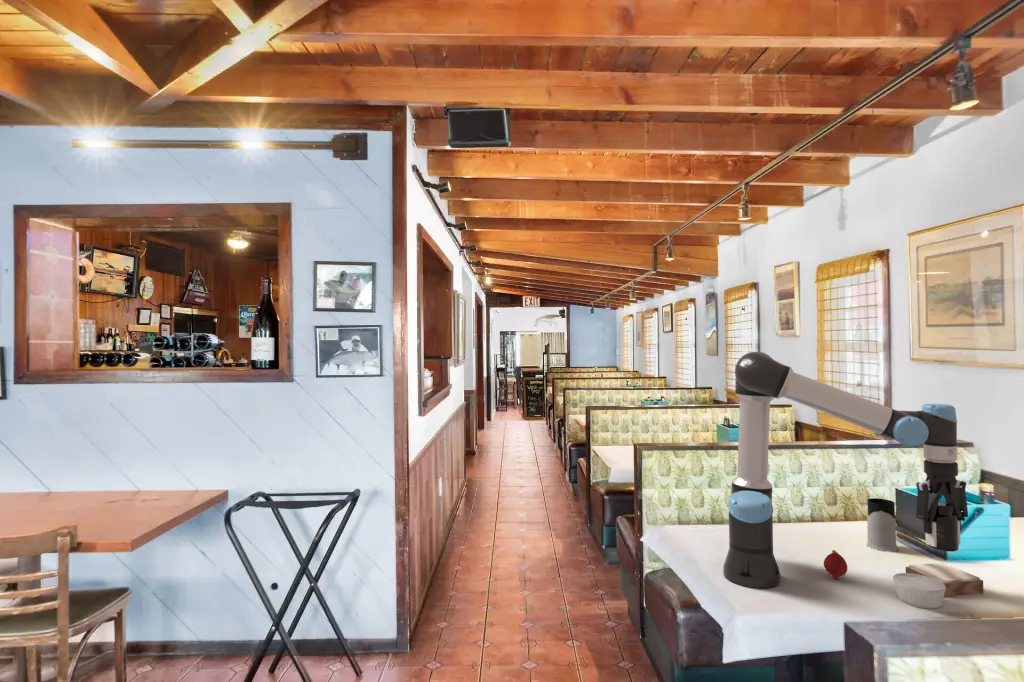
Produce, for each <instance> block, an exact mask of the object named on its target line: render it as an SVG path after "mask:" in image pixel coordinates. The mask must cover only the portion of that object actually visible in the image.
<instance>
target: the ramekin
mask: <svg viewBox="0 0 1024 682" xmlns="http://www.w3.org/2000/svg"><path fill="white" fill-rule="evenodd" d="M892 580H893V583H894V588H895V593H896V596H897V598H898V599H899V600H900V601H902V602H903V603H905V604H907V605H910V604H911V605H910V606H912V605H913V607H917V608H921V609H932V610H933V609H938V608H941V606H943V603H944V598H945V597H944V592H945V591H946V586H945V585H944V584H943V583H942V582H940V581H938V580H936V579H934V578H931V577H927V576H923V575H918V574H911V573H906V572H902V573H900V572H899V573H895V574H894V575H893V577H892Z"/></svg>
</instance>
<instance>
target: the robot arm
mask: <svg viewBox="0 0 1024 682" xmlns="http://www.w3.org/2000/svg"><path fill="white" fill-rule="evenodd" d="M734 374H735V376H734V377H735V386H734V395H735V396H736V398H738V399H739V421H738V444H737V445H738V447H737V448H738V449H737V472H736V473H737V475H736V476H735V477H734V478H733V479H732V480H731V491H730V492H731V493H730V495H729V498H728V502H727V509H728V530H729V531H728V533H729V534H728V539H729V540H728V541H729V547H728V551H727V554H726V558H725V560H724V563H723V566H722V567H723V571H722V572H723V573H722V575H723V576H724V578H726V580H727V581H729V582H732V583H734V584H736V585H739V586H744V587H749V588H757V589H766V588H767V589H768V588H774V587H777V586H779V585H780V584H781V581H782V580H781V572H780V571H781V570H780V568H779V566H778V563H777V560H776V558H775V554H774V529H773V528H774V527H773V526H774V525H773V524H774V521H773V519H774V518H773V517H774V516H773V513H774V507H773V484H772V483H771V482H770V481H769V480H768V467H769V466H768V465H769V464H768V463H769V447H770V446H769V443H770V442H769V441H770V415H771V413H770V412H771V402H772V401H773V400H775V399H782V398H786V399H788V400H790V401H792V402H795V403H798V404H800V405H804V406H806V407H808V408H811V409H813V410H816V411H819V412H821V413H824V414H826V415H830V416H831V417H833V418H834V417H835V418H836V419H839V420H843V421H845V422H848V423H850V424H852V425H855V426H857V427H861V428H863V429H866V430H868V431H871V432H873V434H874V435H875V436H877V437H884V438H888V439H891V440H893V441H897V442H898V443H899V444H901V445H903V446H907V447H917V446H921V445H923V447H922V448H923V458H924V460H923V471H924V473H925V474H926V478H925V481H922V482H919V481H918V482H916V483H915V486H916V489H917V495H916V496H917V497H916V498H917V499H916V512H915V516H916V517H915V518H916V519H920V520H922V521H923V532H924V534H925V535H924V536H925V544H926V545H928V546H929V545H931V546H933V547H937V536H936V522H933V520H934V516H935V513H936V509H937V506H938V502H940V500H941V499H942V497H943V498H944V501H945V503H948V504H951V505H952V506H953V513H952V514H953V515H955V516H956V517H957V519H958V539H959V546H961V532H962V522H965V521H966V518H968V517H969V510H968V503H967V495H966V493H967V492H966V487H967V482H966V481H963V480H960V479H959V480H958V479H957V477H958V475H959V464H958V462H957V461H958V430H957V429H958V427H957V426H958V420H957V412H956V411H957V410H956V408H955V406H953V405H952V404H948V403H947V404H945V403H924V404H923V405H921V407H922V408H921V410H897V409H893V408H891V407H888V406H886V405H883V404H881V403H878V402H875V401H872V400H870V399H867V398H865V397H862V396H860V395H856V394H853V393H851V392H848V391H846V390H842V389H840V388H837V387H835V386H832V385H829V384H826V383H823V382H821V381H818V380H816V379H814V378H813V379H812V378H810V377H808V376H805V375H802V374H800V373H798V372H794V370H793V368H792V367H791V366H787V365H786V364H784V363H780V362H779V361H777V360H775V359H774V358H773V357H771V355H769V354H768V353H765V352H762V351H750V352H747V353H746V354H743V355H742V356H741V357H740V358H739V359H738V361H737V362H736V364H735V367H734ZM928 516H929V517H928Z"/></svg>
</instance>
